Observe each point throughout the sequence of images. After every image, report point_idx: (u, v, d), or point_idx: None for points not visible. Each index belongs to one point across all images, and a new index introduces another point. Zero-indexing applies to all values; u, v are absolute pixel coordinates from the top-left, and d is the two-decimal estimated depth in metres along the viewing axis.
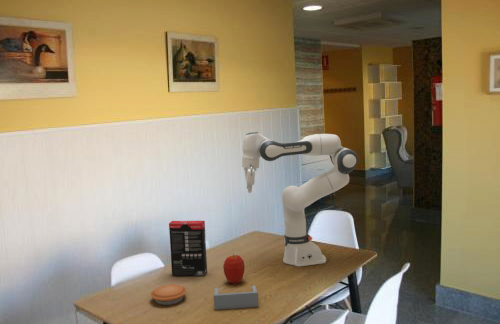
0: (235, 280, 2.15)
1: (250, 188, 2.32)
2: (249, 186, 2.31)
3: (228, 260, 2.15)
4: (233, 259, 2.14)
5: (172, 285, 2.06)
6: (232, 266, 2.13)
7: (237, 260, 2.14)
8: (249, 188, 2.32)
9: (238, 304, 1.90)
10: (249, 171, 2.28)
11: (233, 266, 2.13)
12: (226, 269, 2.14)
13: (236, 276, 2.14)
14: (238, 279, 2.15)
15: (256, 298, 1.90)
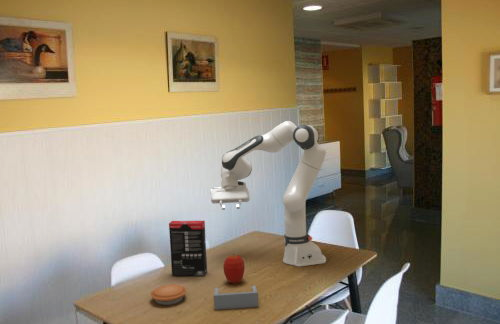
0: (235, 280, 2.15)
1: (221, 205, 2.41)
2: (220, 204, 2.42)
3: (228, 260, 2.15)
4: (233, 259, 2.14)
5: (172, 285, 2.06)
6: (232, 266, 2.13)
7: (237, 260, 2.14)
8: (221, 206, 2.41)
9: (238, 304, 1.90)
10: None
11: (233, 266, 2.13)
12: (226, 269, 2.14)
13: (236, 276, 2.14)
14: (238, 279, 2.15)
15: (256, 298, 1.90)
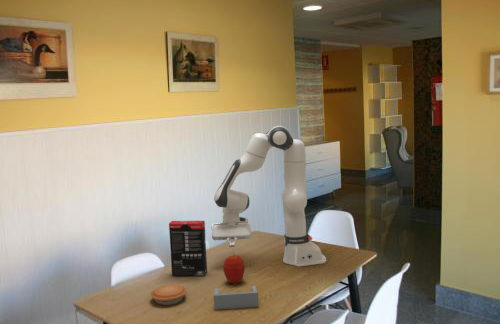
0: (235, 280, 2.15)
1: (228, 242, 2.34)
2: (227, 241, 2.36)
3: (228, 260, 2.15)
4: (233, 259, 2.14)
5: (172, 285, 2.06)
6: (232, 266, 2.13)
7: (237, 260, 2.14)
8: None
9: (238, 304, 1.90)
10: None
11: (233, 266, 2.13)
12: (226, 269, 2.14)
13: (236, 276, 2.14)
14: (238, 279, 2.15)
15: (256, 298, 1.90)
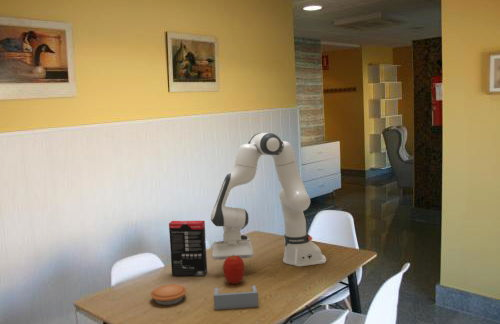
0: (235, 281, 2.14)
1: None
2: None
3: (228, 261, 2.14)
4: (233, 260, 2.14)
5: (172, 285, 2.06)
6: (232, 267, 2.12)
7: (237, 261, 2.13)
8: None
9: (238, 304, 1.90)
10: None
11: (233, 266, 2.12)
12: (226, 270, 2.13)
13: (235, 276, 2.13)
14: (238, 280, 2.14)
15: (256, 298, 1.90)
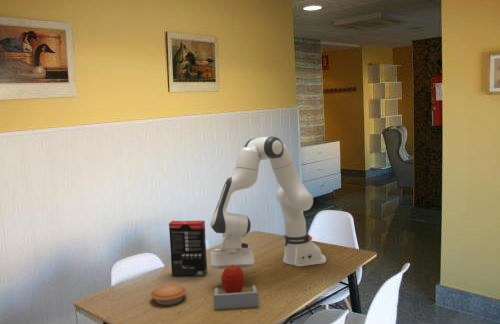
0: (234, 292, 2.01)
1: None
2: None
3: (226, 271, 2.01)
4: (232, 270, 2.00)
5: (172, 285, 2.06)
6: (231, 278, 1.99)
7: (236, 271, 2.00)
8: None
9: (238, 304, 1.90)
10: None
11: (232, 277, 1.99)
12: (224, 280, 2.00)
13: (234, 288, 2.00)
14: (237, 291, 2.01)
15: (256, 298, 1.90)
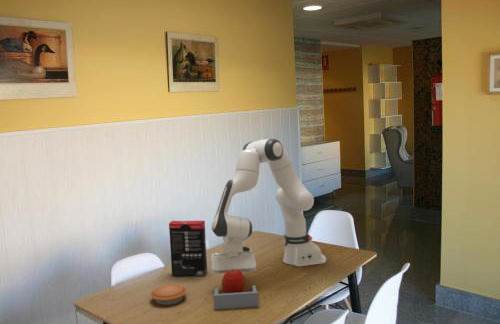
0: None
1: None
2: None
3: (227, 275, 1.96)
4: (232, 274, 1.95)
5: (172, 285, 2.06)
6: (231, 282, 1.94)
7: (236, 275, 1.95)
8: None
9: (238, 304, 1.90)
10: None
11: (232, 282, 1.94)
12: (224, 285, 1.95)
13: None
14: None
15: (256, 298, 1.90)
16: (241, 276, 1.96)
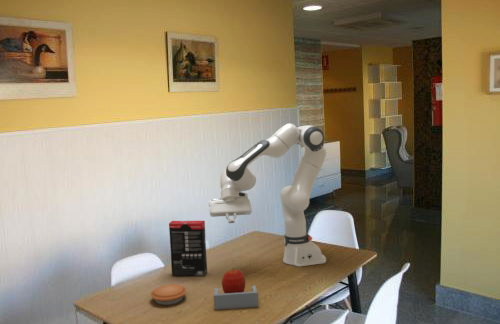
0: None
1: (227, 218, 2.22)
2: (226, 217, 2.23)
3: (227, 275, 1.96)
4: (232, 274, 1.95)
5: (172, 285, 2.06)
6: (231, 282, 1.94)
7: (236, 276, 1.95)
8: (227, 219, 2.22)
9: (238, 304, 1.90)
10: None
11: (232, 282, 1.94)
12: (224, 285, 1.95)
13: None
14: None
15: (256, 298, 1.90)
16: (241, 276, 1.96)
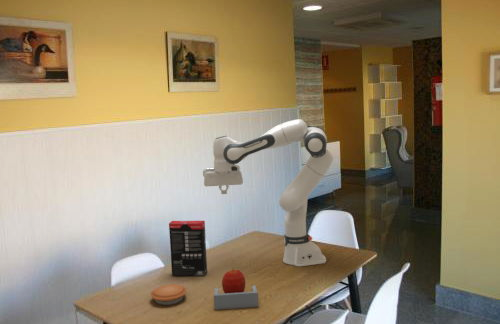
0: None
1: None
2: (219, 187, 2.41)
3: (227, 275, 1.96)
4: (232, 274, 1.95)
5: (172, 285, 2.06)
6: (231, 282, 1.94)
7: (236, 276, 1.95)
8: (220, 189, 2.41)
9: (238, 304, 1.90)
10: None
11: (232, 282, 1.94)
12: (224, 285, 1.95)
13: None
14: None
15: (256, 298, 1.90)
16: (241, 276, 1.96)
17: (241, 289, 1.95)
